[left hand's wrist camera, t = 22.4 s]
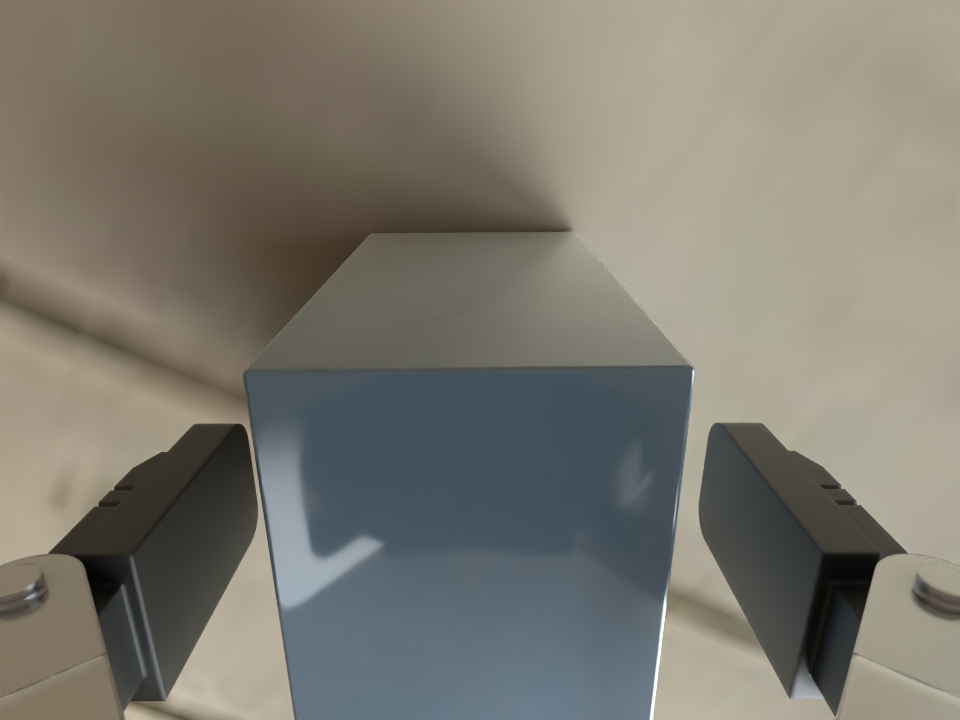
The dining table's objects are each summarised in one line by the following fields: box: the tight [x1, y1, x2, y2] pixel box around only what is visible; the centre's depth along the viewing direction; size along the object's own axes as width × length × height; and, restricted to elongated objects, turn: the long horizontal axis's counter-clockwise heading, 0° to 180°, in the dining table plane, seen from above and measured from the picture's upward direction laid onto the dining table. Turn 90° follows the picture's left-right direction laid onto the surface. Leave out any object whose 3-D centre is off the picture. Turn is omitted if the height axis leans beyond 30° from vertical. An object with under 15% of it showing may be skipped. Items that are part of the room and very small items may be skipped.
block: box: [243, 232, 695, 720], centre depth 12 cm, size 5×6×8 cm
